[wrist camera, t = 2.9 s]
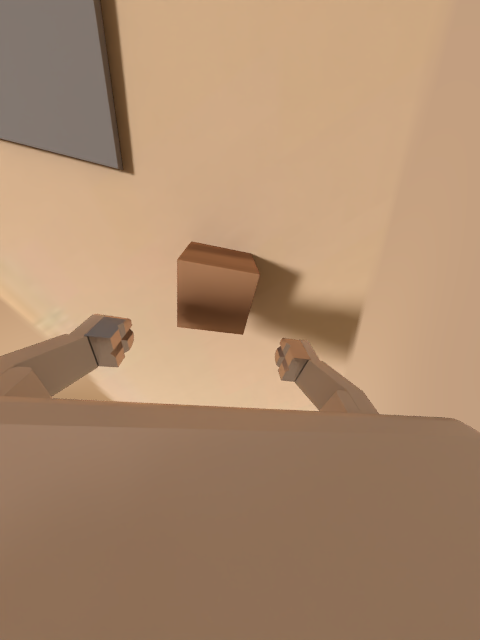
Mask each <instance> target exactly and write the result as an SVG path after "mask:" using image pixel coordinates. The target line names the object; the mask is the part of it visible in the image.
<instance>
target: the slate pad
mask: <svg viewBox="0 0 480 640" xmlns="http://www.w3.org/2000/svg"><path fill="white" fill-rule="evenodd" d="M0 138H1V139H4V140H8V141H12V142H16V143H20V144H24V145H28V146H32V147H35V148H39V149H43V150H47V151H51V152H55V153H59V154H63V155H66V156H70V157H74V158H78V159H82V160H86V161H90V162H94V163H98V164H101V165H105V166H109V167H113V168H117V169H121V170H123V167H122V159H121V152H120V144H119V137H118V130H117V122H116V115H115V108H114V100H113V93H112V86H111V78H110V71H109V64H108V56H107V49H106V41H105V34H104V27H103V19H102V12H101V5H100V0H0Z"/></svg>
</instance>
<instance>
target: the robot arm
mask: <svg viewBox="0 0 480 640" xmlns="http://www.w3.org/2000/svg"><path fill="white" fill-rule="evenodd" d="M131 326H132V323H131V320H130V319H128V318H121V317H114V316H108V315H107V316H106V315H100V314H94V315H92V316H90V317H89V318H88V319H87V320H86V321H85V322H83V323H82V324H81V325H80V326H79V327H77V328H76V329H75V330H74V331H73V332H71V333H70V334H69V335H68V334H64V335H61V336H58V337H55V338H52V339H49V340H46V341H44V342H41V343H38V344H35V345H32V346H29V347H26V348H23V349H20V350H17V351H14V352H11V353H8V354H5V355H3V356H0V640H480V433H479V432H478V431H476V430H475V429H473V428H472V427H470V426H468V425H466V424H464V423H463V422H461V421H458V420H456V419H452V418H445V417H444V418H443V417H421V416H401V415H381V414H379V413H378V412H377V410H376V409H375V408H374V406H373V405H372V403H371V402H370V400H369V399H368V398H367V396H366V395H365V393H364V392H363V391H362V390H360V389H359V388H358V387H356V386H355V385H354V384H352V383H351V382H350V381H348V380H347V379H346V378H344V377H343V376H342V375H340V374H339V373H338V372H336V371H335V370H334V369H332V368H331V367H330V366H328V365H327V364H326V363H324V362H323V361H320V360H319V358H318V356H317V355H316V353H315V351H314V350H313V348H312V346H311V344H310V343H309V342H308V341H307V340H295V339H287V338H282V339H281V341H280V347H279V348H277V350H276V352H275V362H276V365H277V366H278V367H279V369H278V372H279V375H280V378H281V380H283V381H293V382H295V383H296V384H297V385H298V387H299V388H300V389H301V390H302V391H303V392H304V394H305V395H306V396H307V397H308V398H309V399H310V401H311V402H312V403H313V404H314V405H315V406H316V407H317V409H318V410H319V411H301V410H280V409H259V408H238V407H218V406H198V405H178V404H158V403H137V402H117V401H95V400H76V399H75V400H74V399H55V398H52V396H54V395H55V394H56V393H58V392H60V391H61V390H63V389H64V388H66V387H68V386H69V385H71V384H72V383H74V382H75V381H77V380H78V379H80V378H82V377H83V376H85V375H86V374H88V373H89V372H91V371H93V370H94V369H96V368H97V367H98V366H106V367H119V365H120V364H121V362H122V361H123V359H124V357H125V354H124V353H125V352H127V351H129V350H130V348H131V347H132V344H133V341H134V334H133V332H132V331H131V330H130V328H131Z"/></svg>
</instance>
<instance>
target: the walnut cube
mask: <svg viewBox="0 0 480 640" xmlns="http://www.w3.org/2000/svg"><path fill="white" fill-rule="evenodd" d="M259 276H260V274H259V271H258V269H257V267H256V264H255V262H254V260H253V257H252V255H251V253H246V252H241V251H236V250H231V249H226V248H221V247H216V246H211V245H206V244H201V243H196V242H191V243H190V244H189V245H188V246H187V248H186V249H185V250H184V252H183V253H182V254H181V256H180V257H179V258H178V259H177V327H183V328H191V329H200V330H208V331H217V332H225V333H234V334H242V335H243V333H244V329H245V326H246V322H247V319H248V315H249V311H250V308H251V304H252V301H253V297H254V294H255V290H256V287H257V283H258V280H259Z"/></svg>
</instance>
